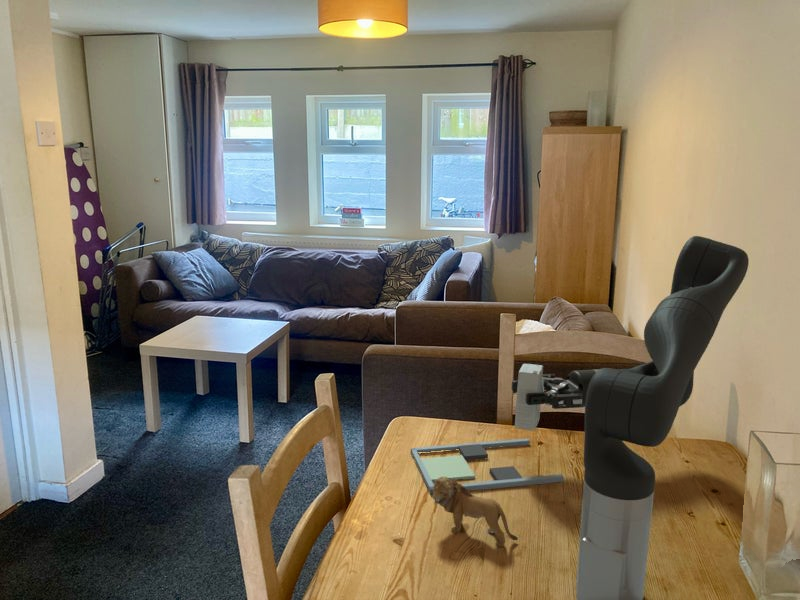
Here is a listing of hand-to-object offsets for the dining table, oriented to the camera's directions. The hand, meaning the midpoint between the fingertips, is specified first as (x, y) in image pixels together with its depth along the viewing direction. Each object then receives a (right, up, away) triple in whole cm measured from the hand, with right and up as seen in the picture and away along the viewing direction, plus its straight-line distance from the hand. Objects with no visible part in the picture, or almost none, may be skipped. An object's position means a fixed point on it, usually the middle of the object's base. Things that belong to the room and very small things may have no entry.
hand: (519, 392), depth 127 cm
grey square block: (-3, -16, -2) cm, 17 cm away
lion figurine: (-12, -21, -21) cm, 32 cm away
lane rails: (-7, -15, +2) cm, 17 cm away
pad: (-14, -16, +1) cm, 21 cm away
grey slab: (-8, -14, +7) cm, 18 cm away
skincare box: (+2, -7, +2) cm, 8 cm away
